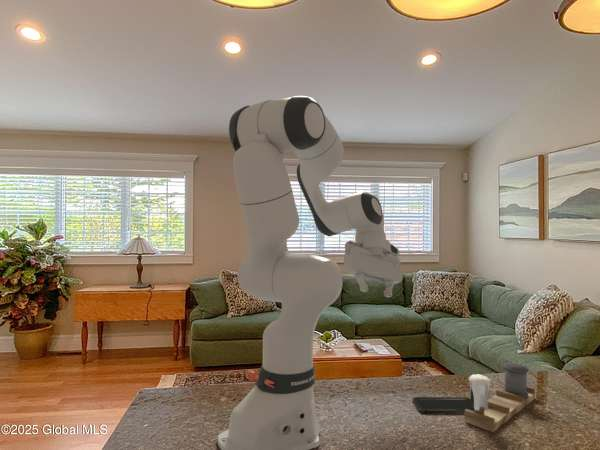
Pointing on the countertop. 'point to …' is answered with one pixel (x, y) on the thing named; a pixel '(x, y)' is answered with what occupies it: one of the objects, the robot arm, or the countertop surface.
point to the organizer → (499, 409)
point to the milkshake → (479, 393)
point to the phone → (442, 405)
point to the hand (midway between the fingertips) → (376, 293)
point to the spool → (516, 379)
